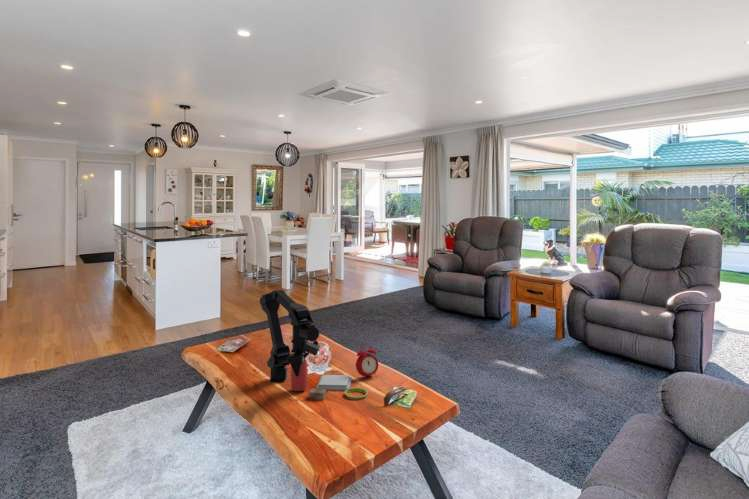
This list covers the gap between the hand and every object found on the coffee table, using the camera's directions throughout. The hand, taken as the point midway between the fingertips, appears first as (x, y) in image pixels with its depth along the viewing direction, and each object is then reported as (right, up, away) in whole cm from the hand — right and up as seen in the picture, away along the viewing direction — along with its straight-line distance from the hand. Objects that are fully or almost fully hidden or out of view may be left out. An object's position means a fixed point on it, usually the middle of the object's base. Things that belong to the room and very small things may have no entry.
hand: (299, 373), depth 175 cm
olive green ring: (+24, -15, -4) cm, 29 cm away
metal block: (+9, -8, -7) cm, 14 cm away
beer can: (0, -7, 0) cm, 7 cm away
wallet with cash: (+41, -14, -3) cm, 43 cm away
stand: (+14, -7, +8) cm, 18 cm away
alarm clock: (+29, -7, +17) cm, 34 cm away
